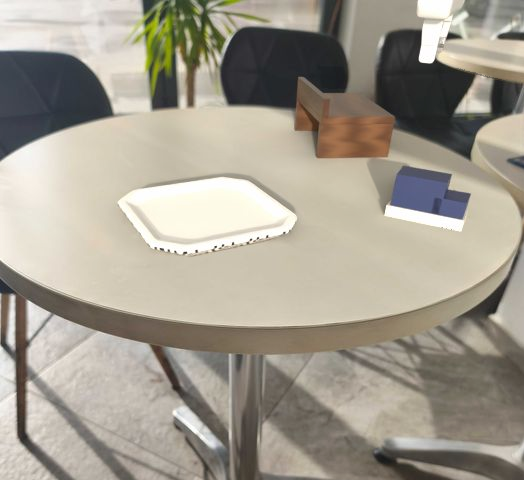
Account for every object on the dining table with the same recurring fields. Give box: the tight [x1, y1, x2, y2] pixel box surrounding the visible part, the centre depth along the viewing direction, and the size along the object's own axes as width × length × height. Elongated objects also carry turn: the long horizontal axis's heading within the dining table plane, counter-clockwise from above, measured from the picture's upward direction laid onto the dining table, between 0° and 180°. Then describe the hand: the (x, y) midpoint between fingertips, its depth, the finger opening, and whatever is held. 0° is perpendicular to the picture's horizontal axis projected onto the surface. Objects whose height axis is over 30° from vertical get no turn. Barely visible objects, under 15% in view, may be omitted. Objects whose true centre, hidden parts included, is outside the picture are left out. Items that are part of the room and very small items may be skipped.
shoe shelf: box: [293, 76, 396, 159], centre depth 99 cm, size 14×20×10 cm
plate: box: [117, 176, 298, 257], centre depth 68 cm, size 21×21×2 cm
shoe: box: [384, 165, 472, 232], centre depth 71 cm, size 11×5×6 cm, turn 65°
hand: (431, 57), depth 63 cm, fingers open, 8 cm apart
